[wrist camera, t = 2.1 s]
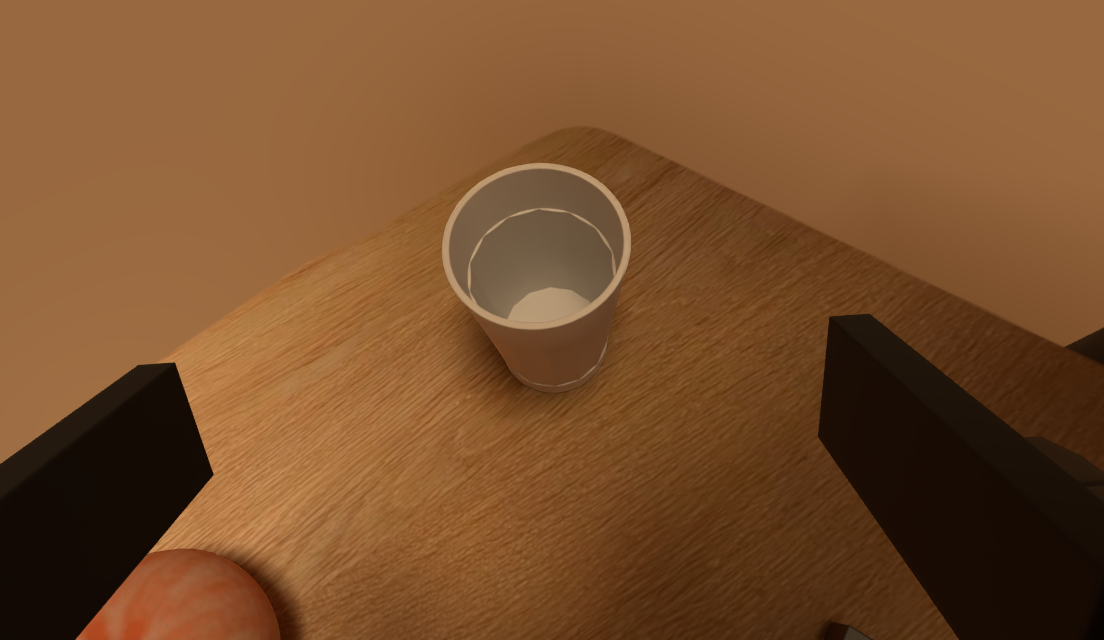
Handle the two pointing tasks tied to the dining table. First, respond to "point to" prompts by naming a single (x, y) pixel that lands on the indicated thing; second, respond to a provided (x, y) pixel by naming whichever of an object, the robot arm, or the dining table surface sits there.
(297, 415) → the dining table surface
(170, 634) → the tomato
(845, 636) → the scale
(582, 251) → the cup
